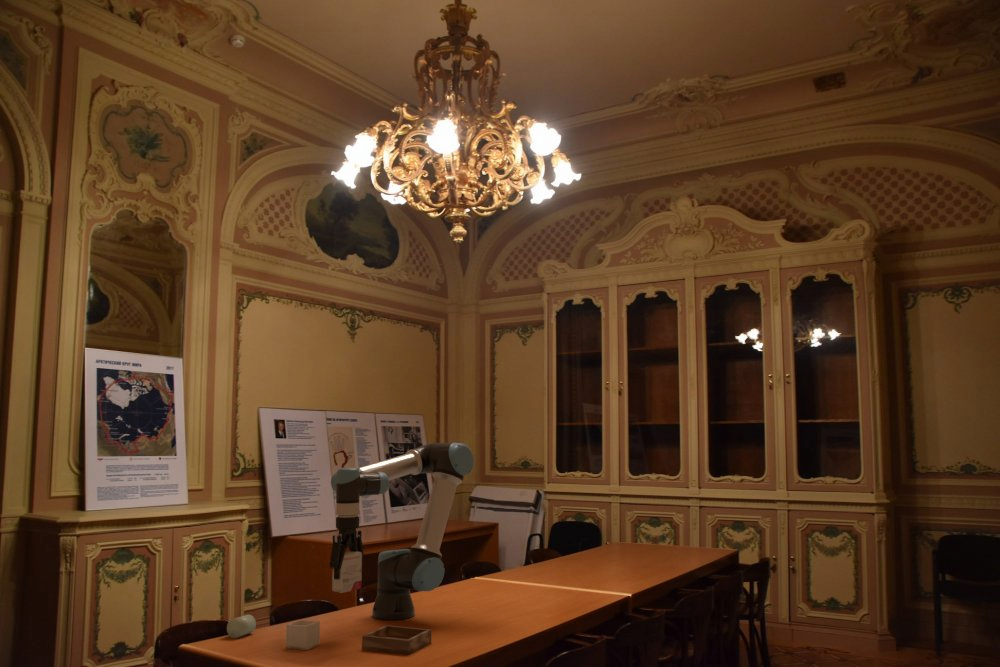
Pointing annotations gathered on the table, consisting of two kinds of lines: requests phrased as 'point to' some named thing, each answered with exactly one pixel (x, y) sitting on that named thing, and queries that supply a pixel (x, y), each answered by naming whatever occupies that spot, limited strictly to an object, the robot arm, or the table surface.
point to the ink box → (350, 572)
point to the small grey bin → (302, 634)
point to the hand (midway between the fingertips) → (347, 586)
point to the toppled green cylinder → (241, 626)
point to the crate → (396, 639)
